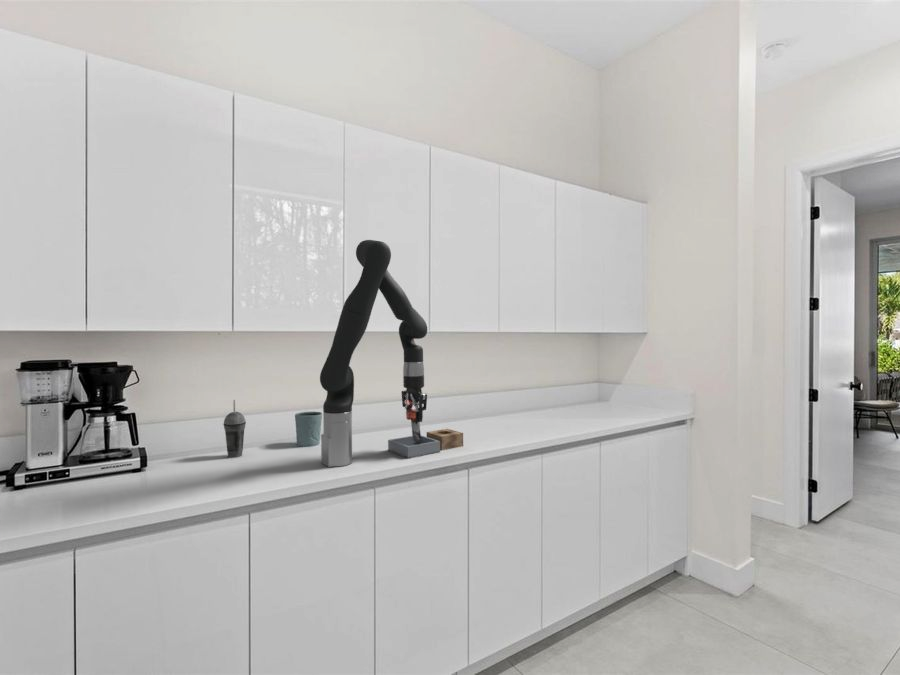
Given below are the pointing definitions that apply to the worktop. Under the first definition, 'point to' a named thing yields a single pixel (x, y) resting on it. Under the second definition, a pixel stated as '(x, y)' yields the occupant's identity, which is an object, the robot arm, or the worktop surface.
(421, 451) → the tray
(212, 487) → the worktop surface
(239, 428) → the beverage cup
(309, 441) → the teal tapered cylinder
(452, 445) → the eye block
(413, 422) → the pin
